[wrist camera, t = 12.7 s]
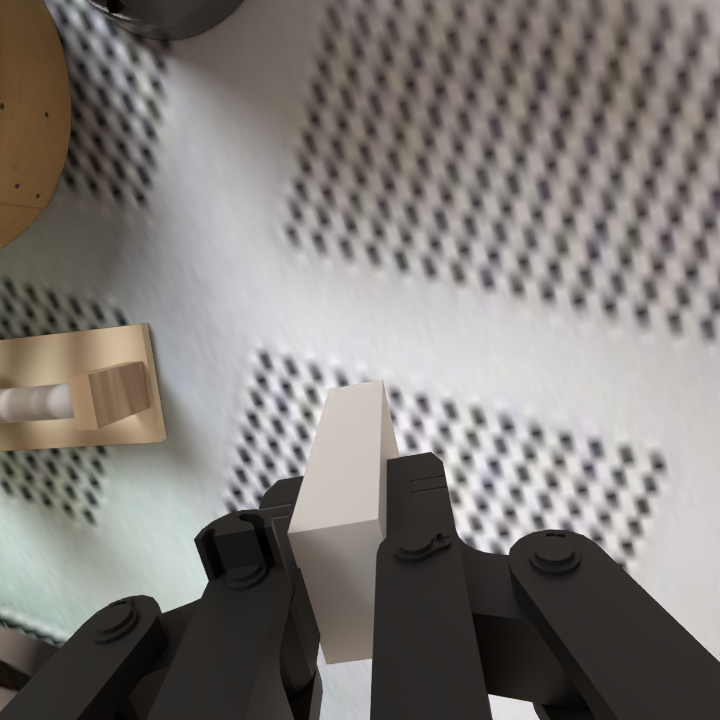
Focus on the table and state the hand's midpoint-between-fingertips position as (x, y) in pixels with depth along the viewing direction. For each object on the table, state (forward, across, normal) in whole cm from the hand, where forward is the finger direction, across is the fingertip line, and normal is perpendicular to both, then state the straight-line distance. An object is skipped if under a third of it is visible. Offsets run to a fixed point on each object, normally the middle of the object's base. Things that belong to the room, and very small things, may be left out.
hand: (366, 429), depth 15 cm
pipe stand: (+27, +30, +3) cm, 40 cm away
